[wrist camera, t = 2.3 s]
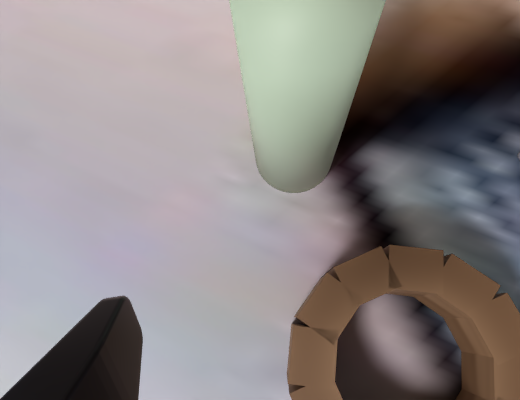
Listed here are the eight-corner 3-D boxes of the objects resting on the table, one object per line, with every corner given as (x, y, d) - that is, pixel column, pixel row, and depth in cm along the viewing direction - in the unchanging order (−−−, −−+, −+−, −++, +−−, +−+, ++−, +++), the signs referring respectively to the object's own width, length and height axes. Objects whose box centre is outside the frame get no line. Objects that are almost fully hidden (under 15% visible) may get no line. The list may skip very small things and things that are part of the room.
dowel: (274, 205, 21) (265, 74, 10) (244, 139, 22) (203, -49, 11) (344, 174, 22) (418, 11, 10) (311, 110, 23) (343, -104, 11)
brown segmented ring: (346, 521, 17) (359, 562, 15) (256, 305, 20) (252, 303, 17) (546, 423, 18) (596, 444, 15) (434, 225, 21) (459, 211, 18)
